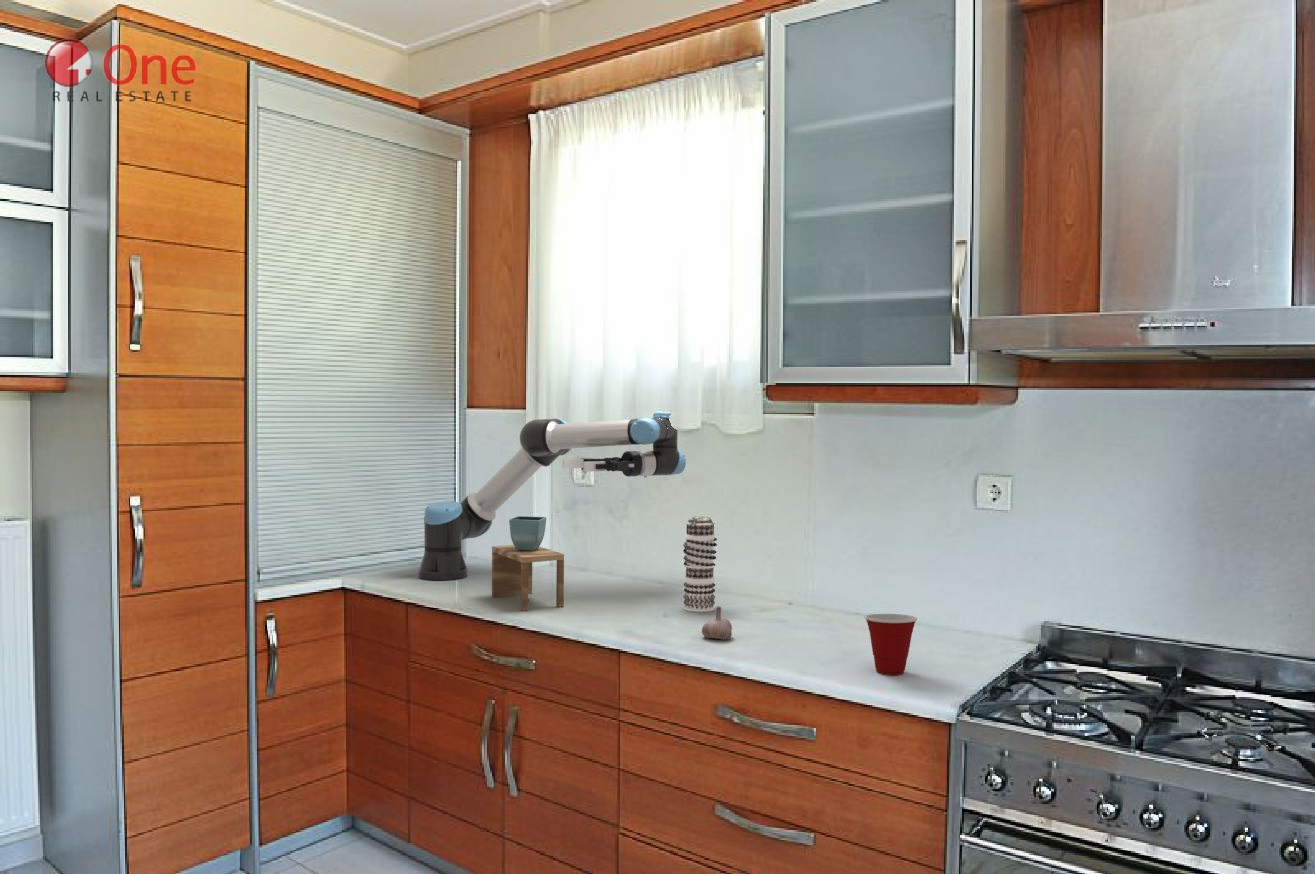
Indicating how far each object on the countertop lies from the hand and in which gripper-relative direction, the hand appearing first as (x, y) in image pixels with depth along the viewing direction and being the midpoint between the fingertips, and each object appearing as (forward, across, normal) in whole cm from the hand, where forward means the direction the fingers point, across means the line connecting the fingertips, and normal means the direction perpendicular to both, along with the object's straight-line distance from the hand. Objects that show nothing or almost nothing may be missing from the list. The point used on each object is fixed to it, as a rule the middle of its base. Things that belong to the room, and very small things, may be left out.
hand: (573, 465), depth 280 cm
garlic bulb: (-8, -61, -38) cm, 73 cm away
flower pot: (+14, +1, -24) cm, 27 cm away
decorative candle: (-23, -31, -38) cm, 54 cm away
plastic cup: (-23, -103, -38) cm, 112 cm away
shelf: (+14, 0, -38) cm, 41 cm away
